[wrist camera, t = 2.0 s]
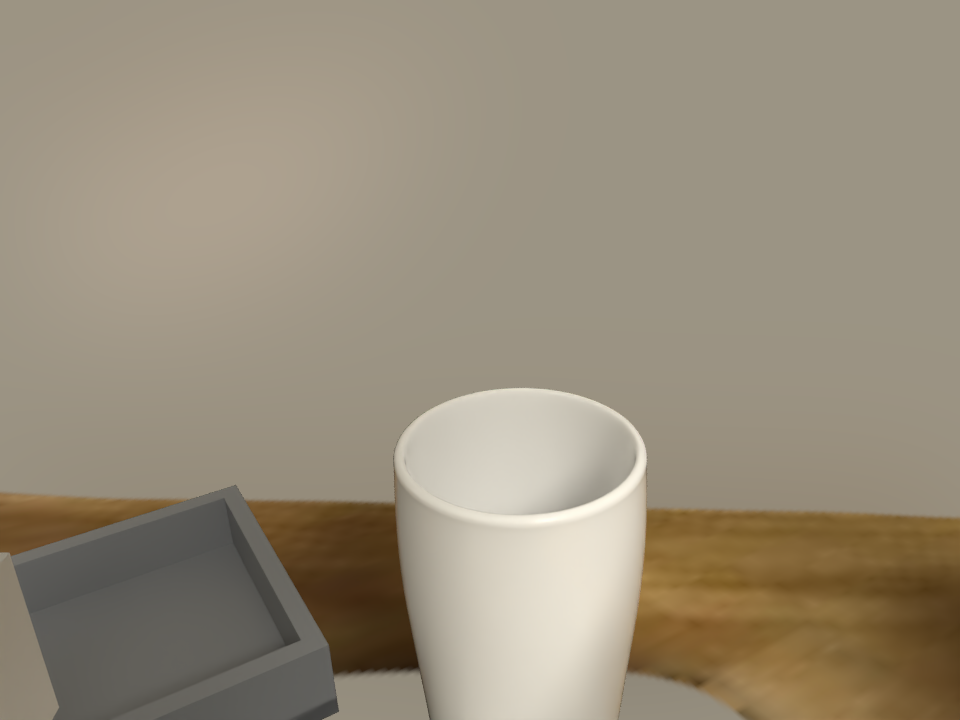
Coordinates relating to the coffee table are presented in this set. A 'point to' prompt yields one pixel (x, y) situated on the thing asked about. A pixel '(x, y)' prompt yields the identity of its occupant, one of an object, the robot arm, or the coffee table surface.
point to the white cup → (521, 553)
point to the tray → (176, 620)
